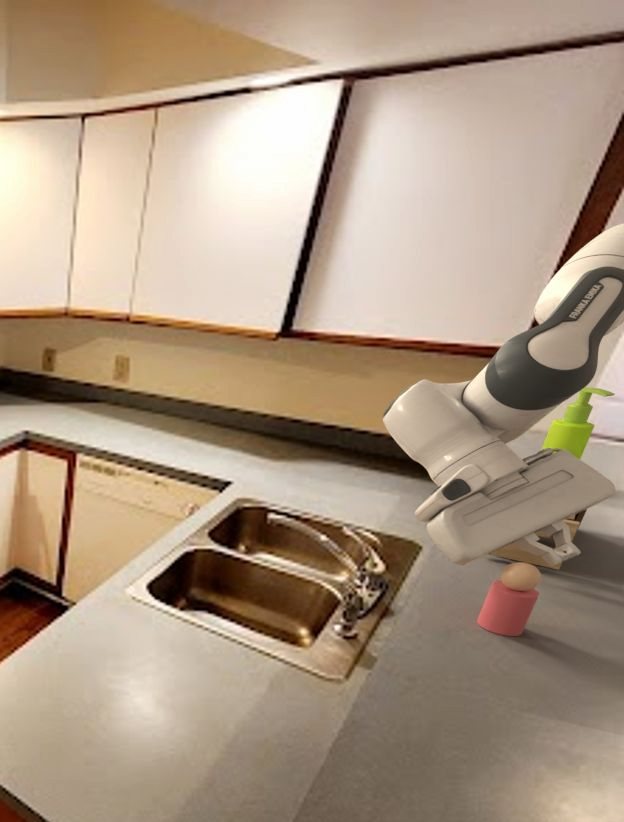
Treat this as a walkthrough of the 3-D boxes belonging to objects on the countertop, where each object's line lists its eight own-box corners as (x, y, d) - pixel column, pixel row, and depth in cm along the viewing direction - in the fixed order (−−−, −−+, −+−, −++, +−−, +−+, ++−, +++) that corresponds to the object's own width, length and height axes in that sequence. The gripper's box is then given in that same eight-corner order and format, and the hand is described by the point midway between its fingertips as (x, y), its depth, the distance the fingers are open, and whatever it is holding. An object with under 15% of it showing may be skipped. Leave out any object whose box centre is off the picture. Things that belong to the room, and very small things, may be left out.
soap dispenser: (556, 493, 124) (599, 393, 115) (520, 482, 130) (558, 386, 122) (581, 490, 125) (625, 390, 116) (544, 479, 131) (583, 383, 122)
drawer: (557, 580, 93) (578, 533, 90) (476, 561, 99) (493, 517, 96) (564, 541, 104) (583, 498, 100) (492, 527, 110) (507, 486, 107)
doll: (517, 622, 85) (544, 559, 81) (526, 639, 82) (555, 575, 77) (473, 614, 87) (498, 553, 83) (480, 631, 84) (506, 567, 80)
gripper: (543, 453, 88) (629, 532, 82) (403, 519, 90) (477, 601, 84) (572, 430, 82) (668, 513, 76) (422, 501, 85) (503, 587, 78)
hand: (566, 560), depth 80 cm, fingers closed
